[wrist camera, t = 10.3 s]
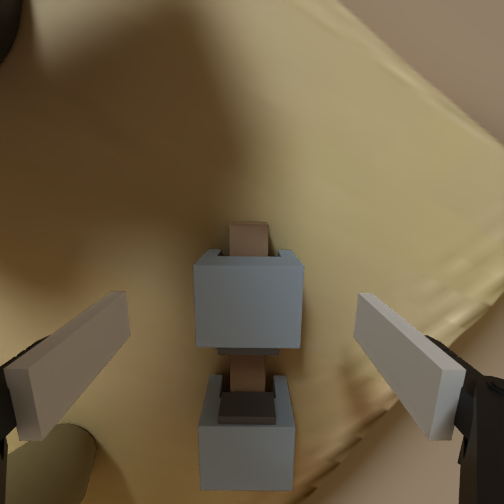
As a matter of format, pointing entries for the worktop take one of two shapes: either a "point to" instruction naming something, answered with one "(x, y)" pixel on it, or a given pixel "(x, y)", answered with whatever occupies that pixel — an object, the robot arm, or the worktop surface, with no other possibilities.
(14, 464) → the squeeze bottle
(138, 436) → the worktop surface
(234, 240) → the rail
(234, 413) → the slider block
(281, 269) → the grey cube block
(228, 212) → the worktop surface
